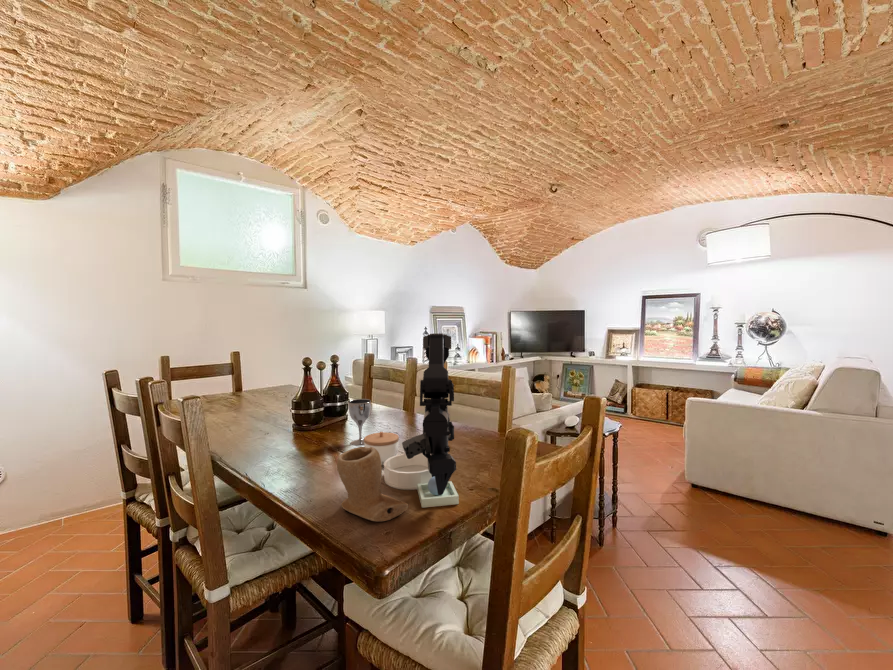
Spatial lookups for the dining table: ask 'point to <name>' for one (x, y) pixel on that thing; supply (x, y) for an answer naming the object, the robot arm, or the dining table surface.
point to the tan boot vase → (366, 485)
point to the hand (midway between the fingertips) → (437, 486)
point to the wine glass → (359, 415)
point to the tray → (437, 496)
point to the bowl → (406, 471)
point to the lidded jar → (383, 444)
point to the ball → (432, 486)
